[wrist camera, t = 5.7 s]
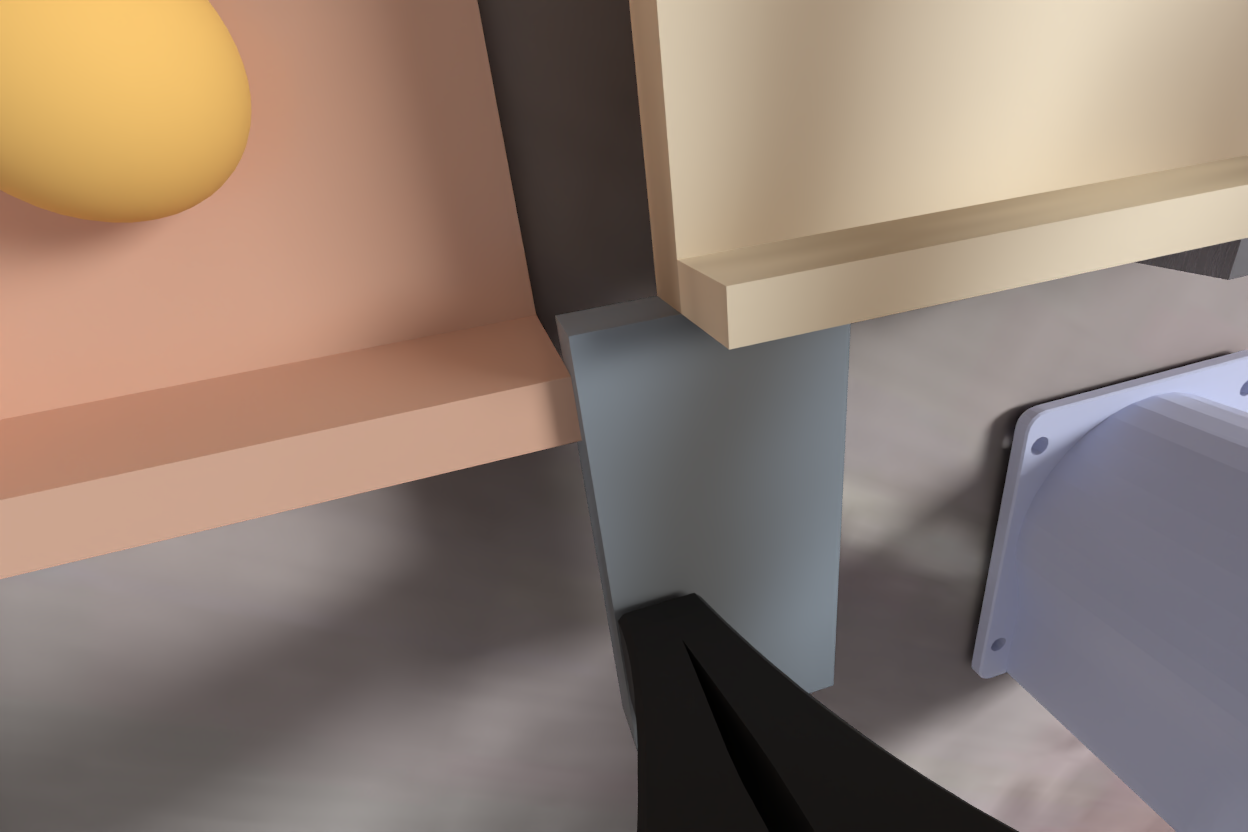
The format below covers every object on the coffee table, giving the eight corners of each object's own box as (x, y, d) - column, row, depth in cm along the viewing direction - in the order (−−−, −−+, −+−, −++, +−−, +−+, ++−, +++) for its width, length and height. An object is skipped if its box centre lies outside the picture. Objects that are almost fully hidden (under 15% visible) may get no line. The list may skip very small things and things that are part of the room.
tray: (543, 360, 12) (582, 440, 9) (-110, 498, 10) (-354, 664, 7) (389, -458, 7) (360, -880, 4) (-902, -522, 5) (-2762, -1433, 2)
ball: (52, 251, 6) (-59, 250, 7) (340, 192, 8) (210, 202, 10) (-188, -207, 4) (-262, -87, 6) (246, -115, 7) (112, -46, 8)
